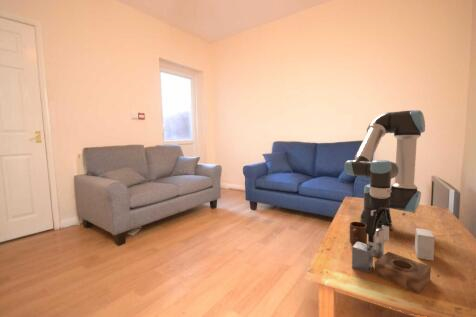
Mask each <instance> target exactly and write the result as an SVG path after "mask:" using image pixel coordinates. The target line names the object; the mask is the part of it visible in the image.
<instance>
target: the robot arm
mask: <svg viewBox="0 0 476 317" xmlns="http://www.w3.org/2000/svg"><path fill="white" fill-rule="evenodd" d="M425 120H426V119H425V117H424V114H423V112H422V111H421V110H419V109H418V110H415V109H414V110H401V111H390V112H389V111H388V112H385V113H382V114H380V115H379V116H377V117H376V118H374V119H373V120H371V122H370V123H369V125H368V126H367V128H366V134H365V136H364V138H363V140H362V142H361V143H360V145H359V148H358V149H357V152H356V154H355V156H354V157H353V159H350V160H346V161H345V162H344V166H343V167H344V168H343V169H344V173H345V175H347V176H348V175H349V176H354V177H365V178H366V177H367V178H369V183H368V184H366V185H364V188H363V209H362V212H361V214H360V217H359V220H360V221H359V222H361V223H364V224H366V225H367V226H366V231H365V233H366V234H367V244H368V245H371V246H373V250H376V235H375V232H376V229H377V228H381V229H384V230H385V233H384V241H387V242H389V241H390V237H389V236H390V227H392V226H393V225H392V222H393V221H392V216H391V211H390V209H392V210H397V211H403V212H406V213H407V212H409V213H414V212H416V211H417V210H418V208H419V205H420V202H421V197H422V192H421V191H420V190H418V186H417V185H416V184H415V177H416V176H415V173H416V160H417V159H416V157H417V141H418V139H419V138H420V137H422V136H421V135H422V133H425V130H426V121H425ZM386 134H393V137H394V138H395V139H396V150H395V151H396V153H395V162H393V161H390V160H387V159H375V160H373V157H374V155H375V152H376V150H377V149H378V146H379V144H380V142H381V140H382V138H383V137H385V135H386ZM392 179H394V182H393V183H392V184H391V182H392Z"/></svg>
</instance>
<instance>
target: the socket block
mask: <svg viewBox="0 0 476 317" xmlns="http://www.w3.org/2000/svg"><path fill="white" fill-rule="evenodd" d="M373 266H374V270H373V272H374V275H375V276H378V277H380V278H381V279H382V278H383V279H385V280H386V281H389V282H392V283H394V284H396V285H398V286H400V287H402V288H405V289H407V290H410V291H411V292H414V293H416V294H420V292H421V291H422V290H423V288H425V287H426V286H427V284H428V283H429V281H431V272H432V271H431V269H432V267H431V266H430V265H427V264H424V263H421V262H418V261H416V260H413V259H410V258H407V257H405V256H401V255H398V254H396V253H393V252H390V251H387V252H386V253H384V255H383V256H382V257H380V258H378V259H376V260H375V261H374V265H373Z"/></svg>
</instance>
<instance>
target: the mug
mask: <svg viewBox="0 0 476 317" xmlns="http://www.w3.org/2000/svg"><path fill="white" fill-rule="evenodd" d="M366 226H367V225H366V224H364V223H362V222H361V221H352V222H350V223H349V242H350V243H351V244H352V245H353V246H354V245H355V243H356V242H361V243H364V244H368V234H366V233H365V231H366Z"/></svg>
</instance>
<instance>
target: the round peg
mask: <svg viewBox="0 0 476 317" xmlns="http://www.w3.org/2000/svg"><path fill="white" fill-rule="evenodd" d="M384 233H385V230H384V229H382V227H377V229H376V232H375V235H376V250H373V257H375V258H378V259H379V258H380V257H382V256H383V255H384V254H385V240H384Z"/></svg>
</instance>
